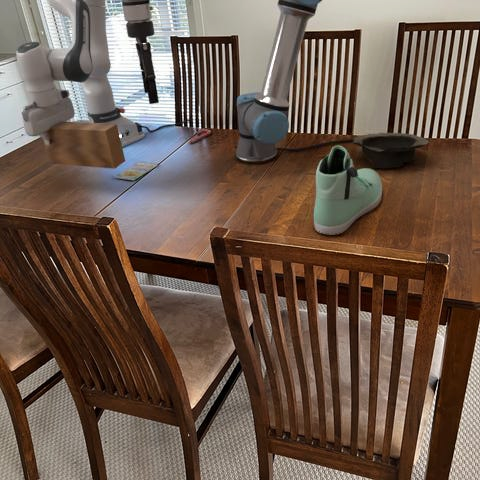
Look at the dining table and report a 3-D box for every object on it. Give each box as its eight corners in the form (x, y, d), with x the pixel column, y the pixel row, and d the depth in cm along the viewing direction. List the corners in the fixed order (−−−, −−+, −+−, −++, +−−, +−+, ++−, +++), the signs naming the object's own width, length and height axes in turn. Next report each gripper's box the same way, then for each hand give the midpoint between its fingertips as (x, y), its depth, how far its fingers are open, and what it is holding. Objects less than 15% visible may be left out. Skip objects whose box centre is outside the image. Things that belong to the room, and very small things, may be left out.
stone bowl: (386, 179, 152) (387, 151, 148) (337, 161, 173) (337, 136, 168) (443, 160, 161) (445, 133, 157) (390, 145, 182) (391, 120, 177)
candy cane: (180, 142, 197) (179, 139, 196) (203, 131, 207) (202, 127, 206) (191, 144, 194) (191, 141, 193) (214, 133, 204) (213, 129, 203)
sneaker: (389, 187, 148) (396, 123, 138) (356, 242, 123) (361, 168, 112) (346, 181, 154) (350, 119, 144) (306, 232, 129) (307, 161, 118)
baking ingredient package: (113, 176, 169) (139, 161, 181) (113, 177, 170) (139, 162, 181) (133, 179, 166) (158, 164, 177) (134, 180, 166) (158, 165, 177)
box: (50, 163, 162) (38, 127, 155) (62, 156, 166) (51, 121, 160) (114, 168, 152) (105, 130, 146) (125, 161, 157) (116, 123, 151)
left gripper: (28, 108, 143) (42, 152, 150) (72, 89, 159) (82, 129, 166) (12, 108, 145) (27, 151, 152) (56, 89, 161) (68, 128, 168)
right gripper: (157, 24, 124) (169, 106, 135) (147, 15, 145) (158, 86, 156) (128, 27, 123) (143, 110, 134) (122, 18, 143) (135, 89, 154)
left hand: (56, 139), depth 159 cm, fingers closed on box, 6 cm apart
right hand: (151, 97), depth 145 cm, fingers open, 13 cm apart
